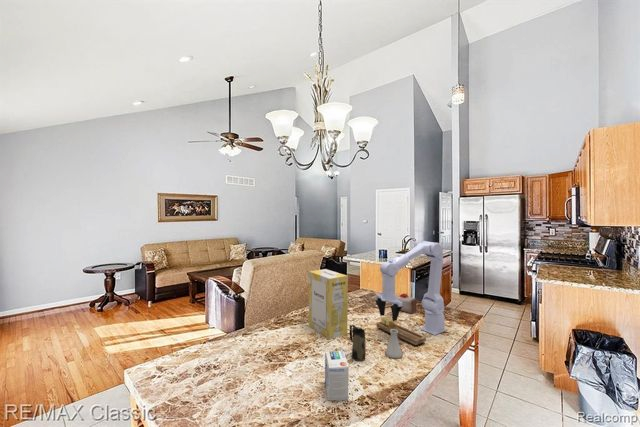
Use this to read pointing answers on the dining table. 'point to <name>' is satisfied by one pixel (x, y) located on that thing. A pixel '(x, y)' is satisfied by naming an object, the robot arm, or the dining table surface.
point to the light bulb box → (336, 375)
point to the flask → (393, 346)
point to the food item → (407, 303)
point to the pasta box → (328, 302)
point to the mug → (358, 343)
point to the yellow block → (388, 322)
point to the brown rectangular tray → (404, 334)
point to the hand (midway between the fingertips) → (388, 317)
